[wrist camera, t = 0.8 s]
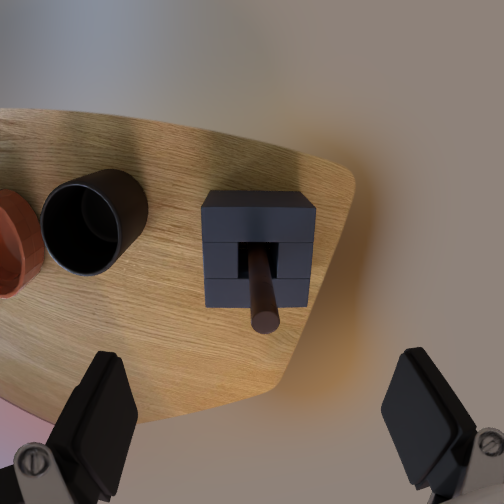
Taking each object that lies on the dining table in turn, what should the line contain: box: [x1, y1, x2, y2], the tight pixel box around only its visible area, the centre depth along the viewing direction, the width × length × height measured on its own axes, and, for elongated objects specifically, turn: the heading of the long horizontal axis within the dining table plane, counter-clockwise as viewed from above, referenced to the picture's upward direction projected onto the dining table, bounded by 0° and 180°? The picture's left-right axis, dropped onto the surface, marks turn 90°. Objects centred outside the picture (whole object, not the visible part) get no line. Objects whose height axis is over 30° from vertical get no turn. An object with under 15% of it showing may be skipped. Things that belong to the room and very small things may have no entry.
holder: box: [201, 190, 316, 308], centre depth 32 cm, size 10×10×8 cm
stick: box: [247, 242, 280, 334], centre depth 28 cm, size 2×2×18 cm
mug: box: [40, 169, 148, 276], centre depth 30 cm, size 9×12×9 cm
